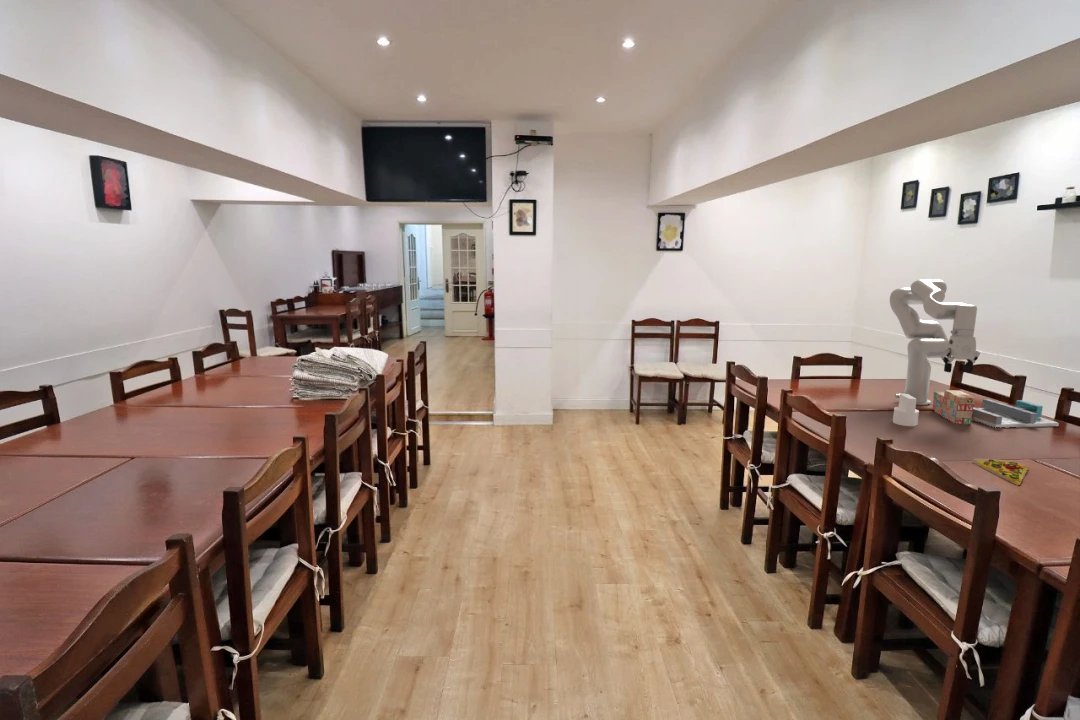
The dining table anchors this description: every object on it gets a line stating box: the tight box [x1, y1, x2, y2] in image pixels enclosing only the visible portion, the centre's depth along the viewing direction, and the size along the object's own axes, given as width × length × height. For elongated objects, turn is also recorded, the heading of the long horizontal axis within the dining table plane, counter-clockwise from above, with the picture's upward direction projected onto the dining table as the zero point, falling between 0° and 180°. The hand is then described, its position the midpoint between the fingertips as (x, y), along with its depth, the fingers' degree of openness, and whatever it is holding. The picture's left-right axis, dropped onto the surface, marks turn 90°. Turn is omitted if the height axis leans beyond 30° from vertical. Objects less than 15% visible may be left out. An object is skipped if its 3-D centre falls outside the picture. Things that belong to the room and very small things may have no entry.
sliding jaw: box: [981, 398, 1043, 423], centre depth 243 cm, size 12×24×5 cm, turn 4°
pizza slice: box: [971, 458, 1030, 486], centre depth 183 cm, size 16×21×3 cm
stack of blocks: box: [931, 389, 976, 425], centre depth 245 cm, size 21×6×12 cm, turn 168°
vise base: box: [971, 407, 1060, 429], centre depth 243 cm, size 28×24×5 cm
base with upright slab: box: [892, 393, 920, 427], centre depth 237 cm, size 9×9×12 cm
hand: (957, 371), depth 242 cm, fingers open, 9 cm apart
